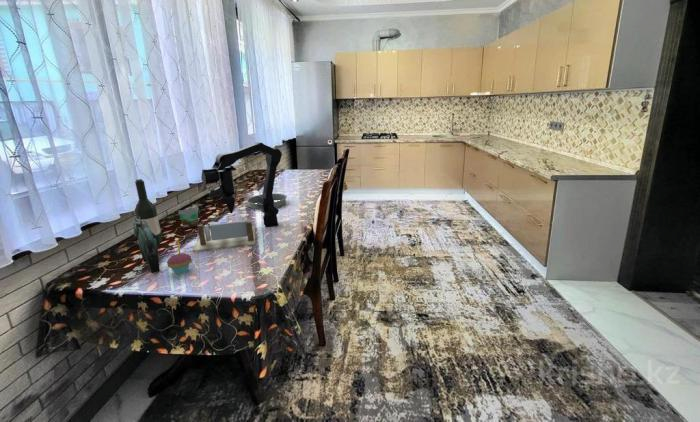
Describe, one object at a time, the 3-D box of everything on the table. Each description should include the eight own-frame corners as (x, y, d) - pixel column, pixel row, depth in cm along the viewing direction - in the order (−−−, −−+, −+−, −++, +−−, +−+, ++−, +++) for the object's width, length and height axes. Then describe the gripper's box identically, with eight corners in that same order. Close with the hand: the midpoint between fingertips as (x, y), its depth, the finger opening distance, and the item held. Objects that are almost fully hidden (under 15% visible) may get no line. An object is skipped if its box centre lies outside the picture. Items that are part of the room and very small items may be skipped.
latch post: (254, 238, 162) (251, 219, 160) (253, 240, 160) (251, 221, 157) (248, 239, 162) (245, 220, 159) (248, 241, 159) (245, 222, 157)
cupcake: (174, 267, 138) (168, 239, 135) (196, 266, 139) (191, 237, 135) (165, 277, 130) (159, 247, 127) (189, 276, 131) (183, 245, 127)
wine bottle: (166, 239, 169) (153, 177, 160) (152, 246, 161) (137, 181, 153) (153, 238, 172) (140, 177, 163) (138, 244, 164) (123, 181, 155)
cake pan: (244, 203, 228) (243, 196, 227) (281, 198, 238) (281, 191, 236) (251, 213, 207) (250, 205, 205) (292, 206, 216) (291, 199, 215)
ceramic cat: (139, 259, 148) (128, 213, 142) (156, 255, 151) (146, 210, 146) (147, 275, 132) (136, 225, 127) (166, 270, 136) (156, 221, 130)
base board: (255, 227, 181) (255, 225, 180) (255, 244, 158) (255, 242, 158) (201, 233, 175) (201, 232, 174) (193, 252, 152) (192, 250, 152)
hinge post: (206, 243, 160) (202, 224, 157) (205, 244, 158) (202, 225, 155) (201, 243, 159) (198, 224, 157) (200, 245, 157) (197, 226, 155)
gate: (206, 241, 157) (203, 226, 155) (206, 239, 159) (204, 225, 157) (249, 236, 162) (247, 221, 160) (249, 234, 163) (247, 220, 161)
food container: (191, 229, 182) (188, 210, 179) (181, 229, 183) (177, 210, 180) (205, 221, 194) (202, 204, 191) (195, 221, 195) (192, 204, 192)
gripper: (210, 178, 172) (215, 209, 176) (205, 186, 154) (211, 220, 159) (234, 176, 174) (238, 207, 179) (232, 184, 157) (237, 217, 161)
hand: (231, 213), depth 169 cm, fingers closed
